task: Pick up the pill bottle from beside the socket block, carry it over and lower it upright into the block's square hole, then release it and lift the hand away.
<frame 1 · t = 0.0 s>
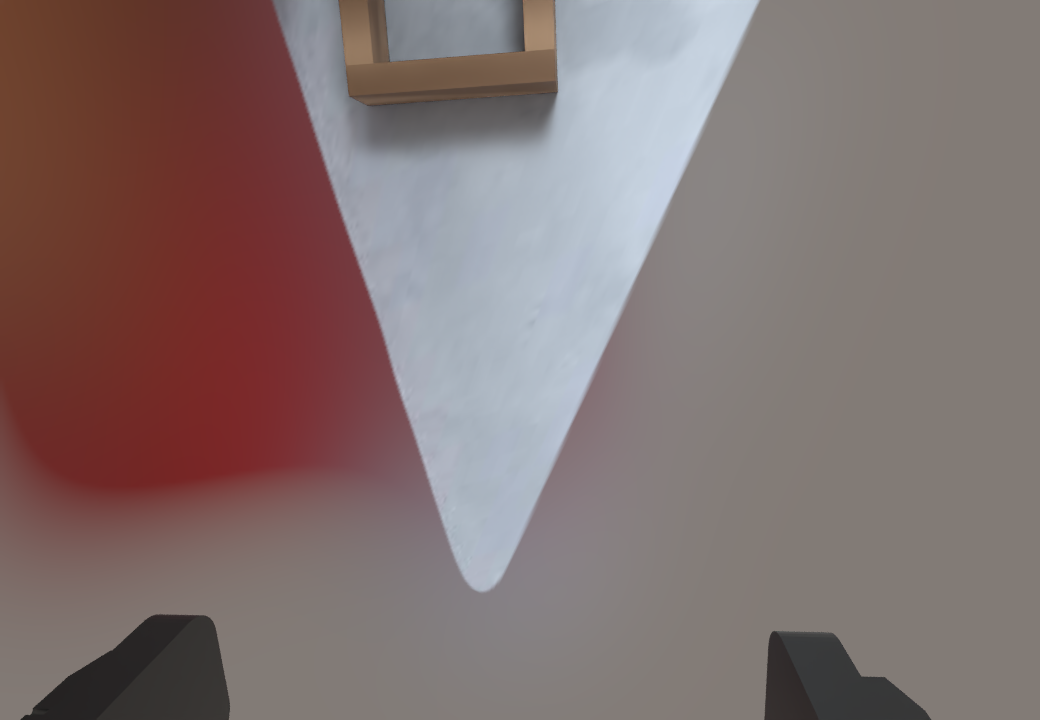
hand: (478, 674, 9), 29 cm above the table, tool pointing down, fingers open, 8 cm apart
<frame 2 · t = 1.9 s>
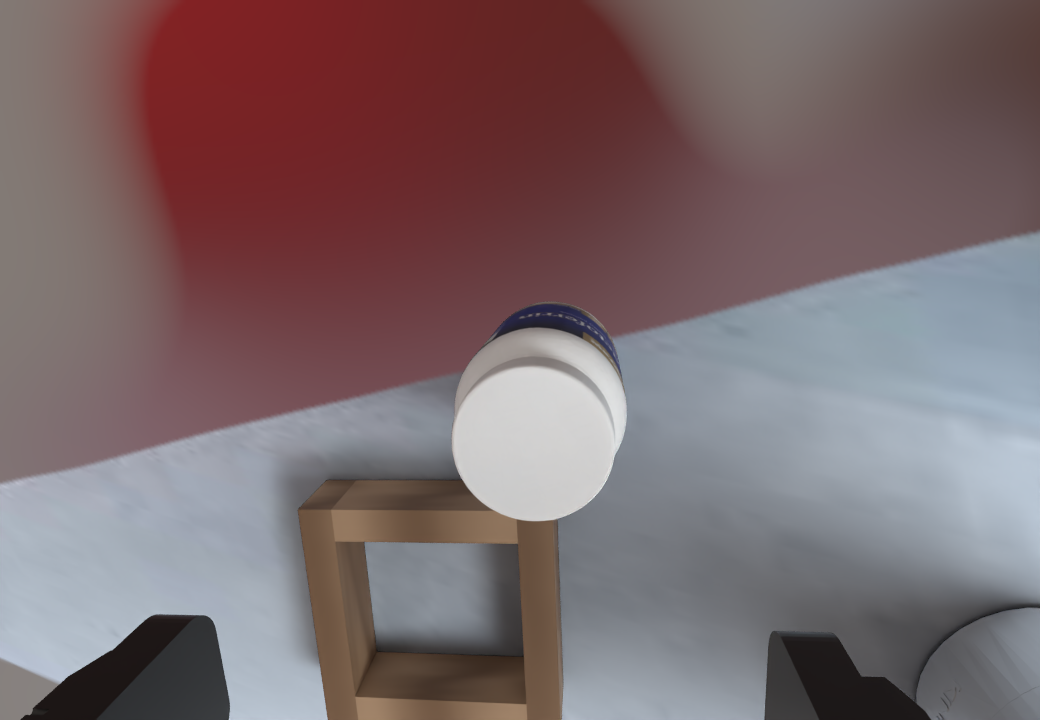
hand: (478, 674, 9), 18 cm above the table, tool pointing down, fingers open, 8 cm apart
socket block: (447, 584, 30), on the table
pill bottle: (551, 362, 27), on the table
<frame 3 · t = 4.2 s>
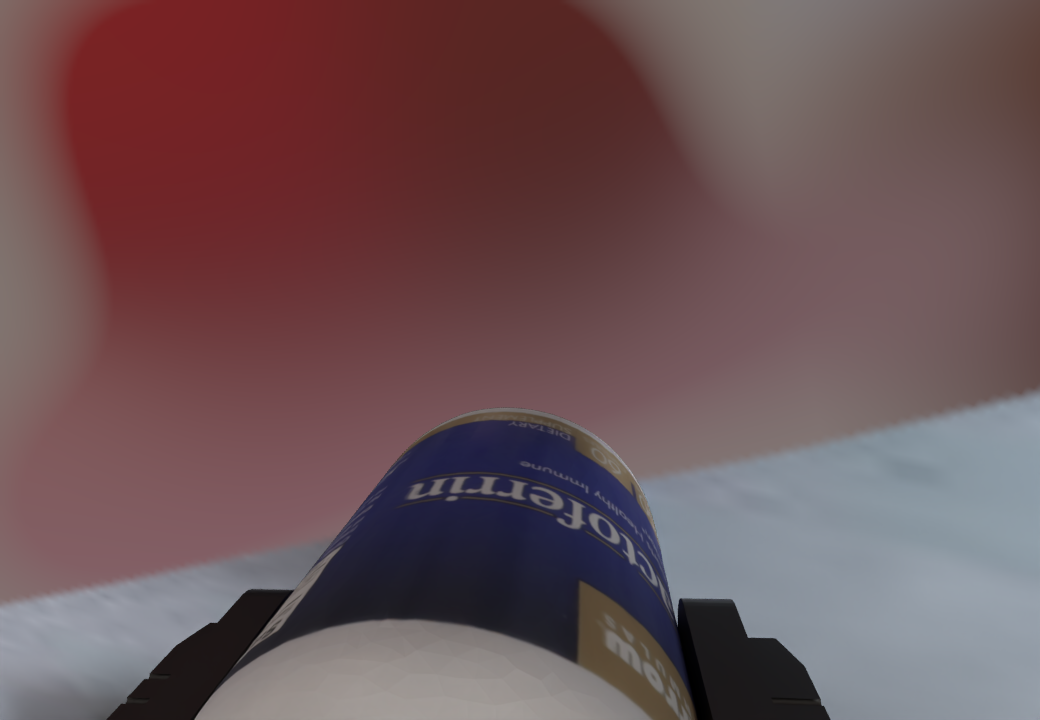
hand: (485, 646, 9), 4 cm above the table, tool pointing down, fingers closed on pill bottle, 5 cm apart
pill bottle: (514, 524, 13), on the table, touching gripper
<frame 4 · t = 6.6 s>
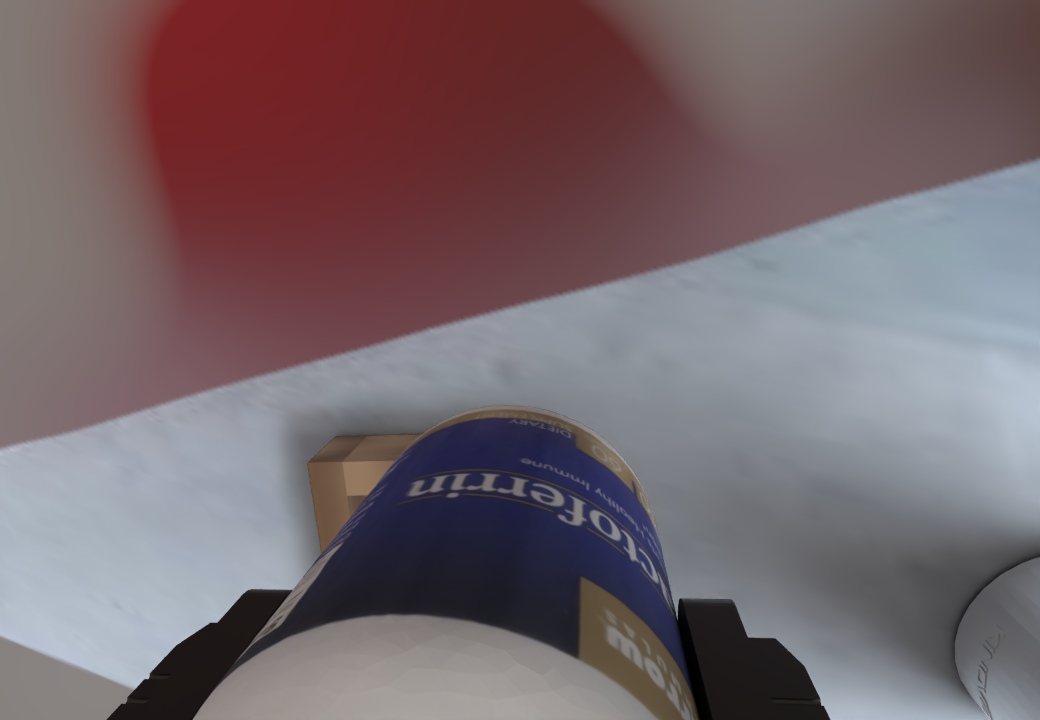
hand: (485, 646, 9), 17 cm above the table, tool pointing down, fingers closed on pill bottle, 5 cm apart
socket block: (463, 543, 28), on the table
pill bottle: (515, 522, 13), point 14 cm above the table, touching gripper
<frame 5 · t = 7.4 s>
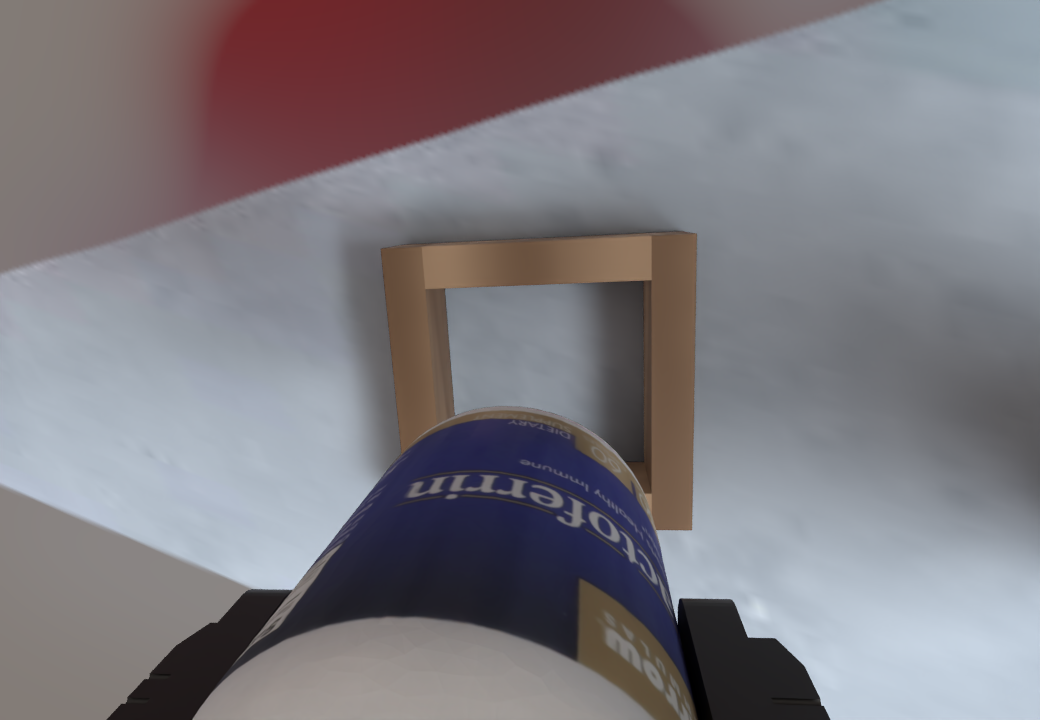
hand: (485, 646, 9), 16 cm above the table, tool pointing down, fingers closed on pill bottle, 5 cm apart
socket block: (545, 372, 25), on the table
pill bottle: (514, 523, 13), point 13 cm above the table, touching gripper
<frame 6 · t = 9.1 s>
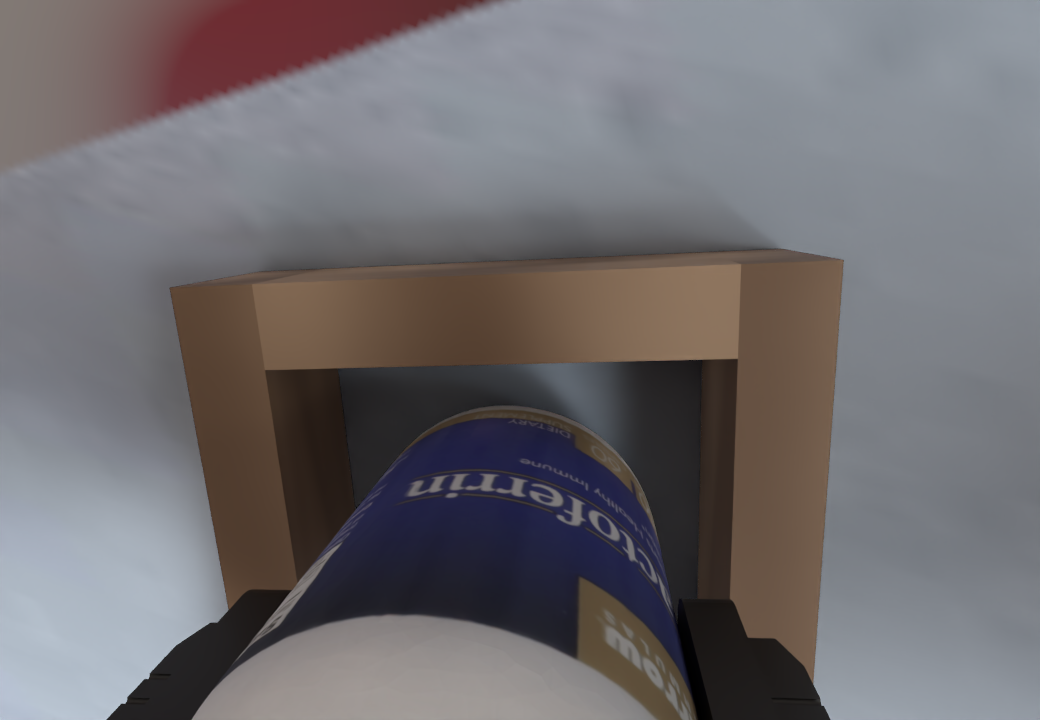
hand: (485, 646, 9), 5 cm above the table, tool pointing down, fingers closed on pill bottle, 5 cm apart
socket block: (521, 501, 14), on the table
pill bottle: (514, 522, 13), point 1 cm above the table, touching gripper
when the fingers open (5 cm above the table, at t = 9.9 s): pill bottle drops 1 cm, resting in socket block.
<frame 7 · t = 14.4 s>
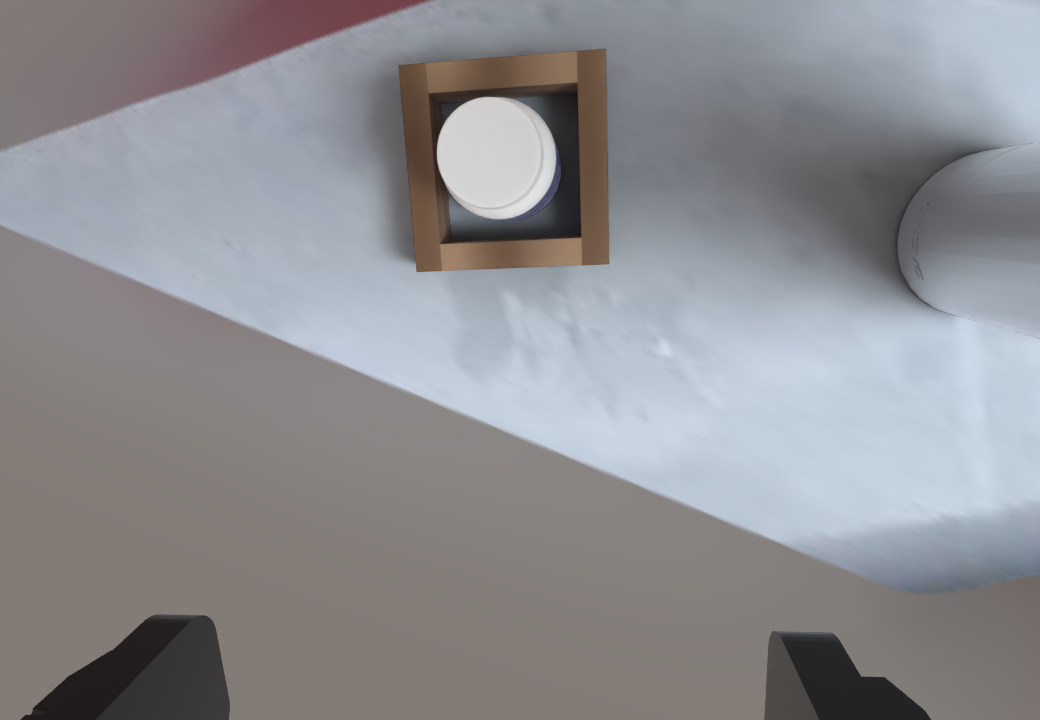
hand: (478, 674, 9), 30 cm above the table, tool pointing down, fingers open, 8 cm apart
socket block: (512, 170, 36), on the table
pill bottle: (513, 170, 36), resting in socket block
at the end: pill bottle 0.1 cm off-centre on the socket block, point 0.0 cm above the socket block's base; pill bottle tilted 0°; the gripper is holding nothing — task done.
